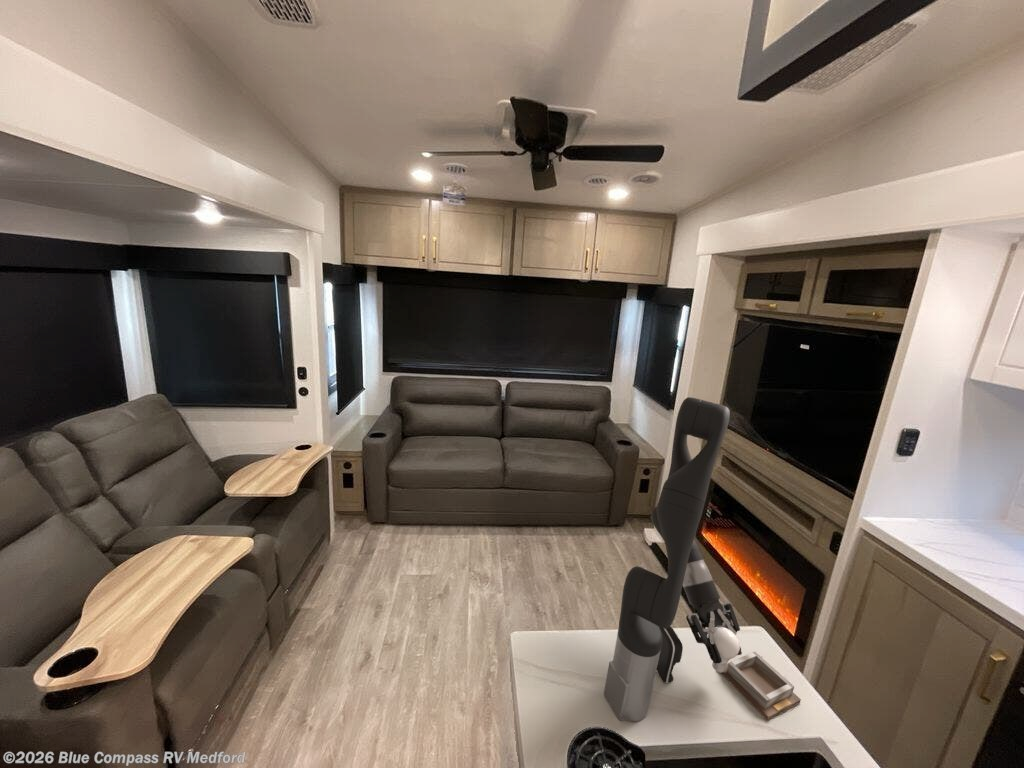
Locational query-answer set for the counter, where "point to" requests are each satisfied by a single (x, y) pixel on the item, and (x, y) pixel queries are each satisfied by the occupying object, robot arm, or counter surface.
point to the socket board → (761, 685)
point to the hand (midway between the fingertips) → (728, 658)
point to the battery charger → (669, 654)
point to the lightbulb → (725, 647)
